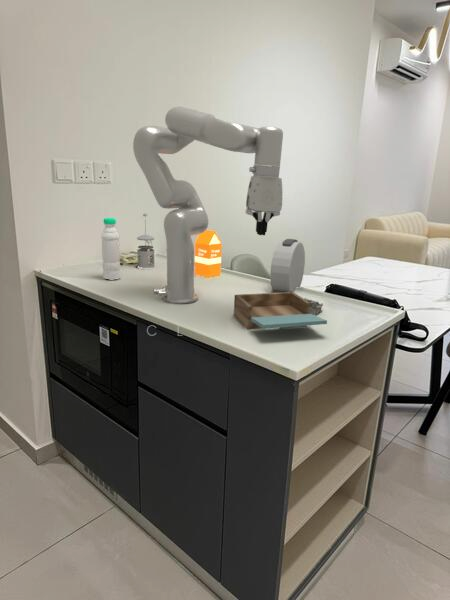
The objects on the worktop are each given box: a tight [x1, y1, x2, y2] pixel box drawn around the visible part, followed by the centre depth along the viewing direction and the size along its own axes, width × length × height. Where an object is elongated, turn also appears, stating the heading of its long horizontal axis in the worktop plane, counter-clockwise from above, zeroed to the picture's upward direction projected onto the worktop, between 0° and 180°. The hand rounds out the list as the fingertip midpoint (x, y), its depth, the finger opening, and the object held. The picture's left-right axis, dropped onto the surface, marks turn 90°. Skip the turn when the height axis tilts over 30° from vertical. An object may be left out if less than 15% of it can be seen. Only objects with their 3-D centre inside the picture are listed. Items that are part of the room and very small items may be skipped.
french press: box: [136, 212, 156, 268], centre depth 206 cm, size 10×12×25 cm
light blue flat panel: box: [251, 314, 328, 330], centre depth 126 cm, size 19×2×10 cm
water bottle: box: [100, 217, 122, 279], centre depth 181 cm, size 7×7×25 cm
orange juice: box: [194, 229, 222, 279], centre depth 193 cm, size 8×9×20 cm
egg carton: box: [303, 297, 324, 316], centre depth 148 cm, size 11×8×4 cm
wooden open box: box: [233, 291, 311, 330], centre depth 138 cm, size 20×13×7 cm, turn 107°
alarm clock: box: [270, 238, 306, 293], centre depth 176 cm, size 21×8×20 cm, turn 155°
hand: (260, 234), depth 136 cm, fingers closed
